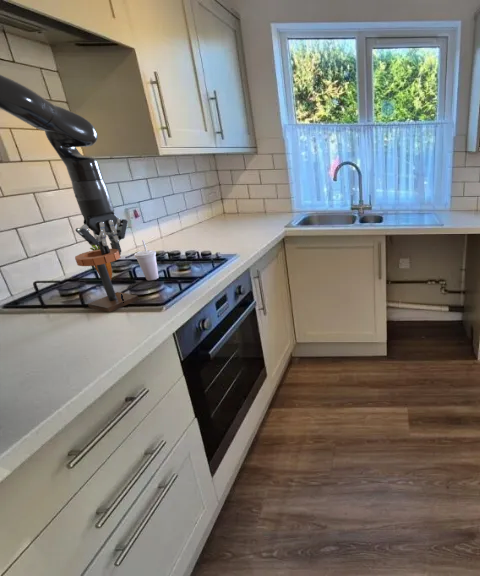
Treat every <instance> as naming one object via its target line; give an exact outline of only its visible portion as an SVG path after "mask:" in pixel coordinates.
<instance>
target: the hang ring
mask: <svg viewBox="0 0 480 576" xmlns="http://www.w3.org/2000/svg"><path fill="white" fill-rule="evenodd" d="M109 250H110V253H108V254H105V255H102V253H101V251H100V249H99V250H89V251H86V252H82V253H79V254H77V255H75V257H74V259H75V262H76V265H77V266H78V267H95V266H94V265H101V264H106V263H113V262H115V261H118V260H119V259H121V255H120V254H119V251H118V249H112V248H109Z"/></svg>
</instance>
